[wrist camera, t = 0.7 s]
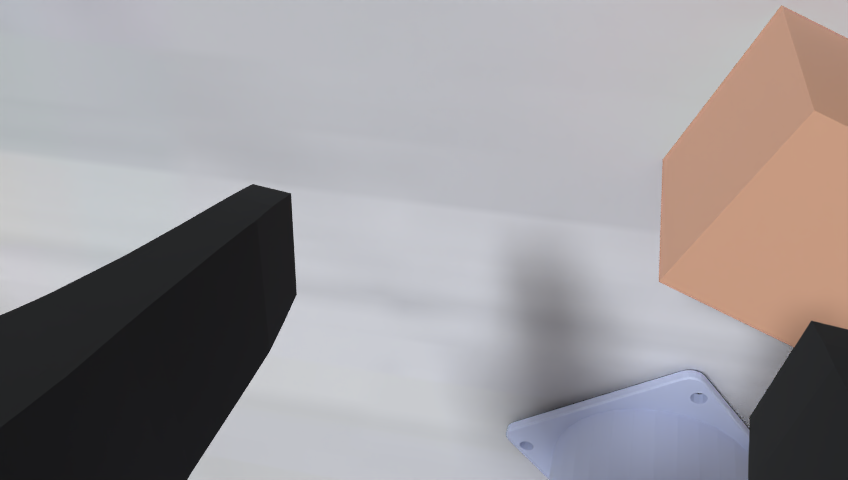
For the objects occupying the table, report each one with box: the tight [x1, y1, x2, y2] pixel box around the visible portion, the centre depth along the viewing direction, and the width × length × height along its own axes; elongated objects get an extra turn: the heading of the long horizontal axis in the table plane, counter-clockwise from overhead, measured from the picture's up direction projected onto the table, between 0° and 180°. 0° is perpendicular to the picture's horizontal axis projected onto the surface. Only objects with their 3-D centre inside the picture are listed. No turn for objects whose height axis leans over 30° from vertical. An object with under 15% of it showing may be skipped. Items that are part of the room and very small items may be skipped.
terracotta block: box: [659, 5, 848, 347], centre depth 15 cm, size 5×5×5 cm
